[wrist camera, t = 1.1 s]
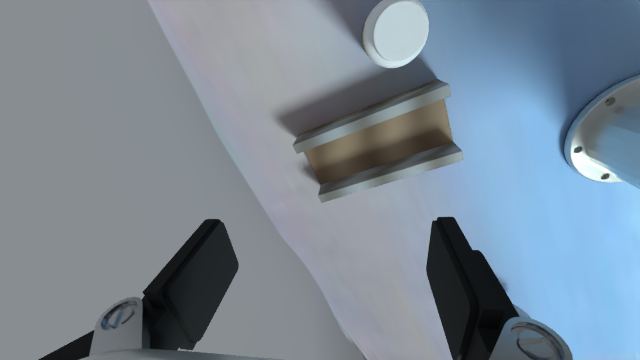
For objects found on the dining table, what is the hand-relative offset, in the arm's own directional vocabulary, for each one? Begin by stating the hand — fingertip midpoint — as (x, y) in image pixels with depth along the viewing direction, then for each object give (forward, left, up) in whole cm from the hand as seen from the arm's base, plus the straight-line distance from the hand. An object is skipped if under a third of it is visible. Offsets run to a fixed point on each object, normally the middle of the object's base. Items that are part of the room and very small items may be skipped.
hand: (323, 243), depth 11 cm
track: (-2, +5, -23) cm, 24 cm away
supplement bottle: (-7, -6, -24) cm, 25 cm away
